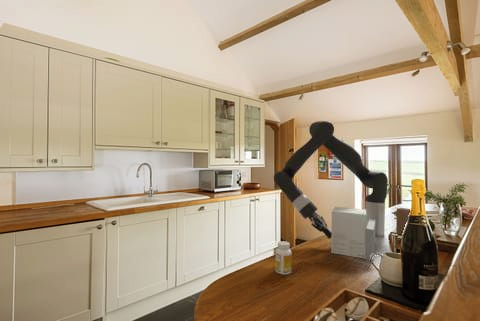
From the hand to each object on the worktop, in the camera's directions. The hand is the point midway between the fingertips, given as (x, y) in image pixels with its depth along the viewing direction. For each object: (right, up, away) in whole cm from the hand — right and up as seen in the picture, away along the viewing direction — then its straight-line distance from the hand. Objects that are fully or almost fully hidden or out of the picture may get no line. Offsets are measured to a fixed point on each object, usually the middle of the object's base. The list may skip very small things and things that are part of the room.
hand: (331, 237), depth 112 cm
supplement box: (+6, -5, -4) cm, 9 cm away
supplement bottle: (-25, -4, -25) cm, 36 cm away
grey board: (+15, -5, -4) cm, 17 cm away
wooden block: (+33, -6, -2) cm, 33 cm away
